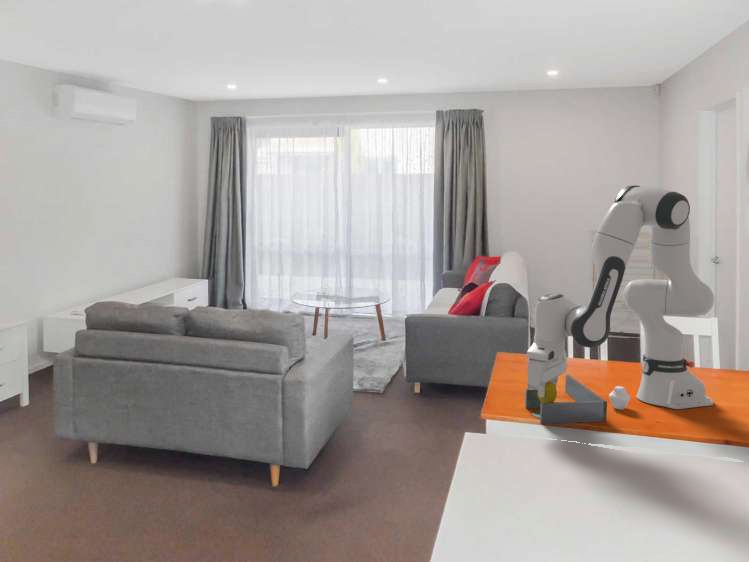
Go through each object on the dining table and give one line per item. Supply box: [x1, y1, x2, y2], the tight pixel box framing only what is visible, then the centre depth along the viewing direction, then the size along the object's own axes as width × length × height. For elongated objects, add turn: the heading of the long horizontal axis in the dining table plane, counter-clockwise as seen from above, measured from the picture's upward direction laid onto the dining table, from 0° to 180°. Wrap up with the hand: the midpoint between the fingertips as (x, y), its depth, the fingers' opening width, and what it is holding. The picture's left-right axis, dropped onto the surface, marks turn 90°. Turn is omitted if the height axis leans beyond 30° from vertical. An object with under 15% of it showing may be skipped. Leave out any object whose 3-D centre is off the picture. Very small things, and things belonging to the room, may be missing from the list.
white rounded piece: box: [608, 385, 631, 410], centre depth 189 cm, size 6×6×7 cm
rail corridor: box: [524, 374, 608, 425], centre depth 190 cm, size 20×28×6 cm
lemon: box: [538, 381, 558, 403], centre depth 182 cm, size 6×6×8 cm
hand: (547, 393), depth 182 cm, fingers closed on lemon, 5 cm apart
